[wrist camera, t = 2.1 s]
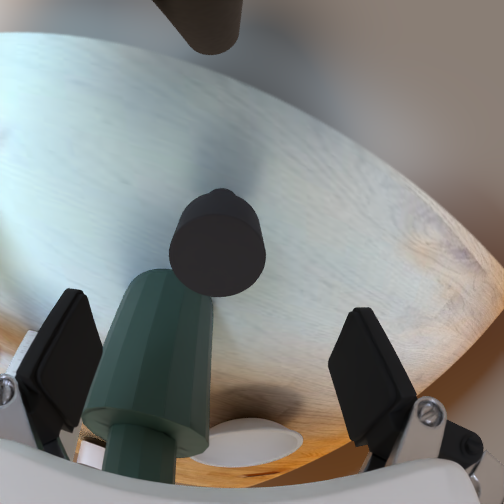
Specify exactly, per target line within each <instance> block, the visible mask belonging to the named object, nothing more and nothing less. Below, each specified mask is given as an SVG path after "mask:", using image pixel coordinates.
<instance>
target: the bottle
mask: <svg viewBox="0 0 504 504" xmlns="http://www.w3.org/2000/svg"><path fill="white" fill-rule="evenodd" d="M212 330H213V305H212V300H211V298H210V296H206V295H202V294H199V293H197V292H194V291H192V290H191V289H189V288H188V287H186V286H185V285H184V284H183V283H182V282H181V281H180V280H179V279H178V278H177V277H176V275H175V273H174V272H173V270H170V269H154V270H149V271H146V272H144V273H142V274H140V275H138V276H137V277H136V278H135V279H134V280H133V281H132V282H131V283H130V285H129V287H128V289H127V290H126V292H125V294H124V296H123V299H122V301H121V303H120V306H119V308H118V310H117V313H116V315H115V317H114V320H113V322H112V325H111V327H110V330H109V332H108V335H107V337H106V340H105V342H104V345H103V353H102V357H101V359H100V362H99V365H98V368H97V370H96V373H95V376H94V379H93V382H92V384H91V387H90V390H89V393H88V396H87V399H86V402H85V406H84V409H83V412H82V415H81V418H82V421H83V424H84V425H85V426H86V427H87V428H88V429H89V430H90V431H91V432H93V433H94V434H95V435H97V436H98V437H100V438H102V439H103V440H105V441H107V443H106V448H105V453H104V458H103V464H102V470H101V471H105V472H109V473H113V474H117V475H121V476H126V477H130V478H135V479H141V480H146V481H152V482H158V483H165V484H173V485H175V471H176V458H185V457H192V456H195V455H199V454H202V453H204V451H205V450H206V449H207V448H208V447H209V417H210V378H211V351H212Z"/></svg>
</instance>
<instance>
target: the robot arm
mask: <svg viewBox="0 0 504 504" xmlns="http://www.w3.org/2000/svg"><path fill="white" fill-rule="evenodd" d="M102 353H103V347H102V343H101V340H100V337H99V334H98V331H97V328H96V325H95V322H94V319H93V315H92V312H91V308H90V305H89V301H88V298H87V296H86V295H84V293H83V291H82V290H77V289H70V288H68V289H66V290H65V291H64V293H63V294H62V296H61V297H60V299H59V300H58V302H57V303H56V305H55V306H54V308H53V309H52V311H51V312H50V314H49V315H48V317H47V318H46V320H45V322H44V323H43V325H42V326H41V328H40V330H39V331H38V333H37V335H36V336H35V338H34V340H33V342H32V343H31V345H30V347H29V349H28V350H27V352H26V354H25V356H24V358H23V359H22V361H21V363H20V365H19V367H18V369H17V371H16V376H15V378H14V377H13V376H11V375H10V374H5V373H4V374H0V504H503V502H504V465H503V464H501V463H500V462H499V461H498V460H497V459H496V458H495V457H494V456H493V455H492V454H490V453H489V452H488V451H487V450H485V451H484V452H483V443H482V440H481V438H480V437H479V436H478V435H477V434H476V433H474V432H472V431H470V430H468V429H465V428H463V427H461V426H459V425H457V424H455V423H453V422H451V421H449V420H447V413H446V410H445V408H444V406H443V404H442V403H441V402H440V401H439V400H437V399H435V398H433V397H430V396H426V397H425V396H424V397H421V398H419V399H417V397H416V395H417V394H416V392H415V390H414V388H413V385H412V383H411V381H410V379H409V377H408V375H407V373H406V371H405V369H404V368H403V366H402V364H401V362H400V360H399V358H398V356H397V354H396V352H395V350H394V348H393V347H392V345H391V343H390V341H389V339H388V337H387V335H386V334H385V332H384V330H383V328H382V326H381V325H380V323H379V321H378V319H377V318H376V316H375V314H374V312H373V311H372V309H371V308H369V307H361V308H354V309H353V311H352V312H349V314H348V316H347V319H346V321H345V323H344V326H343V328H342V331H341V333H340V335H339V338H338V340H337V342H336V344H335V347H334V349H333V351H332V353H331V356H330V358H329V361H328V368H329V371H330V374H331V378H332V381H333V384H334V387H335V390H336V394H337V397H338V400H339V404H340V407H341V410H342V414H343V417H344V421H345V424H346V427H347V431H348V434H349V438H350V439H351V440H352V441H354V442H355V446H356V447H358V446H363V445H367V444H368V447H369V450H370V452H369V453H368V455H367V458H366V459H365V461H364V463H363V465H362V467H361V469H360V471H359V473H358V474H356V475H351V476H347V477H341V478H336V479H331V480H326V481H320V482H314V483H306V484H299V485H290V486H279V487H264V488H207V487H193V486H182V485H173V484H165V483H158V482H152V481H146V480H141V479H135V478H130V477H126V476H121V475H117V474H113V473H109V472H105V471H101V470H98V469H94V468H91V467H87V466H84V465H81V464H78V463H74V462H71V461H70V459H69V457H68V455H67V453H66V451H65V448H64V446H63V444H62V442H61V439H60V437H59V435H60V431H61V430H64V431H67V432H70V433H73V430H74V427H77V426H78V425H79V422H80V419H81V415H82V412H83V409H84V406H85V402H86V399H87V396H88V393H89V390H90V387H91V384H92V382H93V379H94V376H95V373H96V370H97V368H98V365H99V362H100V359H101V357H102Z"/></svg>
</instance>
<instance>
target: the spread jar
mask: <svg viewBox="0 0 504 504" xmlns="http://www.w3.org/2000/svg"><path fill="white" fill-rule="evenodd" d="M105 448H106V443H105V442H103V441H101V440H98V439H95V438H90V437H85V438H83V439H82V442H81V445H80V449H79V454H78V459H77V463H78V464H81V465H84V466H87V467H91V468H94V469H98V470H102V464H103V458H104V453H105Z"/></svg>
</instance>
